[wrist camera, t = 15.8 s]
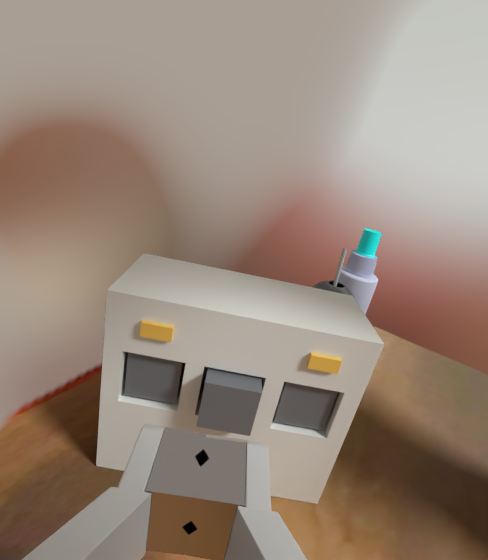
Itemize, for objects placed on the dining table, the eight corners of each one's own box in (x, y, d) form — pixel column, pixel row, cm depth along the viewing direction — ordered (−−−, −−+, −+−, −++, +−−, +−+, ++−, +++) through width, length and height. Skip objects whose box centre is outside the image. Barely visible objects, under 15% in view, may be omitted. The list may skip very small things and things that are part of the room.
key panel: (304, 430, 41) (352, 295, 34) (318, 507, 32) (386, 347, 25) (129, 398, 40) (144, 253, 33) (94, 469, 31) (104, 292, 24)
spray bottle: (311, 343, 60) (350, 222, 52) (345, 354, 59) (391, 232, 51) (309, 362, 54) (353, 229, 46) (346, 373, 54) (398, 240, 46)
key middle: (250, 403, 31) (261, 364, 29) (249, 436, 27) (262, 393, 26) (202, 395, 31) (210, 354, 29) (196, 426, 27) (204, 382, 26)
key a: (183, 376, 32) (190, 337, 31) (175, 403, 29) (182, 361, 27) (138, 367, 32) (142, 328, 31) (124, 394, 29) (128, 351, 27)
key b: (315, 400, 33) (329, 363, 31) (323, 430, 30) (338, 390, 28) (271, 392, 33) (282, 355, 31) (273, 421, 29) (286, 380, 28)
